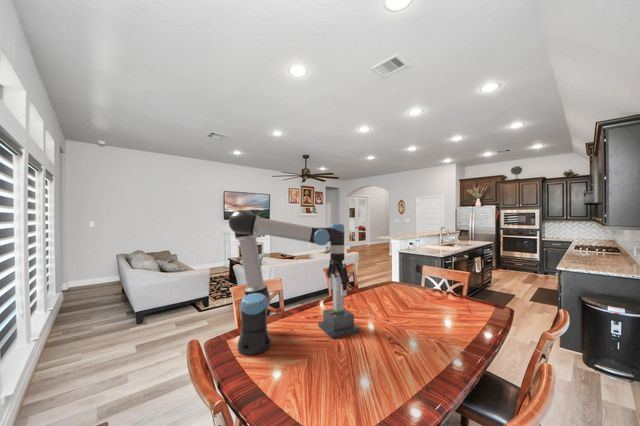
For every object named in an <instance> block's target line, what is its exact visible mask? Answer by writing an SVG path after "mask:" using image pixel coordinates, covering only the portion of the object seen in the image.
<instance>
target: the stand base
mask: <svg viewBox="0 0 640 426" xmlns="http://www.w3.org/2000/svg"><path fill="white" fill-rule="evenodd" d="M343 310H344V312H343V314H338V315H336V314H334V312H333V308H330V309H325V310H322V316H323V319H322V321H318V327H319V329H321V331H323V332H324V333H325V334H326V335H328V337H329V338H330V339H331V340H332V339H337V338H342V337H345V336H350V335H355V334H358V333H360V327H359V326H358V325H356V324H355V314H354V313H353V312H351V311H349V310H347V309H346V308H344V307H343Z"/></svg>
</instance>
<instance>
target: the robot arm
mask: <svg viewBox="0 0 640 426" xmlns="http://www.w3.org/2000/svg"><path fill="white" fill-rule="evenodd" d="M228 226H229V228H230V229H231V230H232V232H234V237H235V239H236V240H237V241H238V242H239V248H240V255H241V260H242V267H243V272H244V277H245V284H246V285H245V286H246V287H245V288H244V291H243V292H244V296H243V297H242V299H241V302H240V319H241V321H240V323H241V325H240V328H241V331H240V332H241V333H240V336H239V339H238V341H237V351H238V353H240V354H242V355H245V356H254V355H260V354H263V353H265V352H266V351H268V350H270V348H271V346H272V340H271V339H272V338H271V337H270V334H269V330H268V309H269V306H270V304H271V295H270V292H269V289H268V284H266V283H265V282H264V278H263V277H264V276H263V273H262V266H261V260H260V255H259V248H258V242H257V236H258V235H264V236H270V237H276V238H282V239H286V240H287V239H288V240H293V241H300V242H303V243H311V244H315V245H318V246H325V245H327V244H328V243H329V242H330V244H329V245H330V247H329V248H330V249H329V250H330V251H329V252H330V255H329V257H330V259H329V266H328V269H327V274H326V275H327V276H328V278H329V279H328V285H329V287H328V289H329V290H330V291H331V290H333V277H331V274H333V273H339V275H340V278H341V281H342V283H341V296H342V297H343V298H344V297H346V296H347V292H348V291H347V288H348V287H347V284H349V283H350V279H349V275H348V272H347V264H346V263H343V261H345V247H346V246H345V233H346V232H345V226H344V224H343V223H331V224H330V225H329V227H313V226H309V225H302V224H297V223H292V222H285V221H280V220H274V219H269V218H263V217H260V216H259V214H255V213H254V212H253V211H251V210H249V209H238V210H235V211H234V212H232V213H231V214H230V216H229V218H228Z"/></svg>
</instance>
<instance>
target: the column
mask: <svg viewBox="0 0 640 426" xmlns="http://www.w3.org/2000/svg"><path fill="white" fill-rule="evenodd" d="M331 277H333V289H332V309H333V312H334V314H336V315H338V314H343V312H344V310H343V308H344V296H343V297H342V296H341V283H342V281H341V278H340V275H339V273H338V272H335V273H333V274H331Z"/></svg>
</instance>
